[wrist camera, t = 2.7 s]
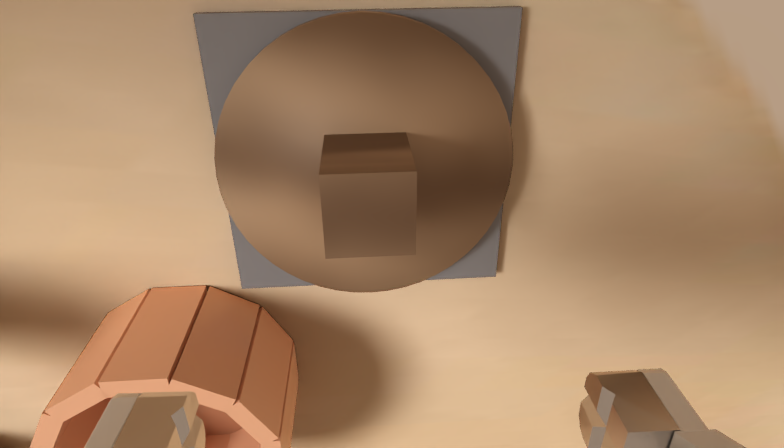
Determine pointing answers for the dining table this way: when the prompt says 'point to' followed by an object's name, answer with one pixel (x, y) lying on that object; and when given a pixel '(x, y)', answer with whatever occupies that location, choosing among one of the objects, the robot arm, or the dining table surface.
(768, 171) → the dining table surface
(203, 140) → the dining table surface
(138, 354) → the bowl
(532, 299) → the dining table surface
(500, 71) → the mat
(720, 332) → the dining table surface
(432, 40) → the lid
